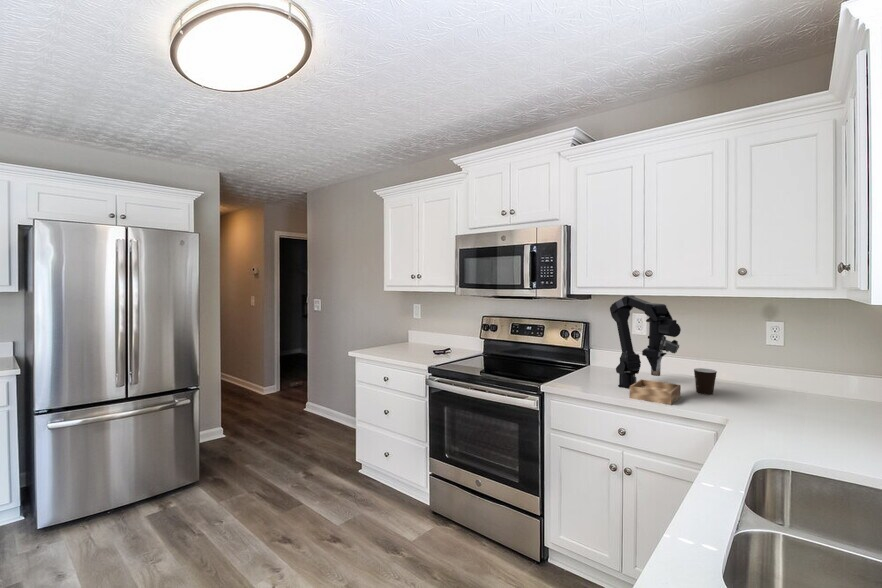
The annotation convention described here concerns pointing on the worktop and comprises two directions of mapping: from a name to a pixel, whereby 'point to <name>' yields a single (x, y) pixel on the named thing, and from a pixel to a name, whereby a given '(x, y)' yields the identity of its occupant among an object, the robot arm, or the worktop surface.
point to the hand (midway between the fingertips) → (655, 370)
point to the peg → (657, 372)
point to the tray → (655, 391)
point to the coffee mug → (705, 380)
